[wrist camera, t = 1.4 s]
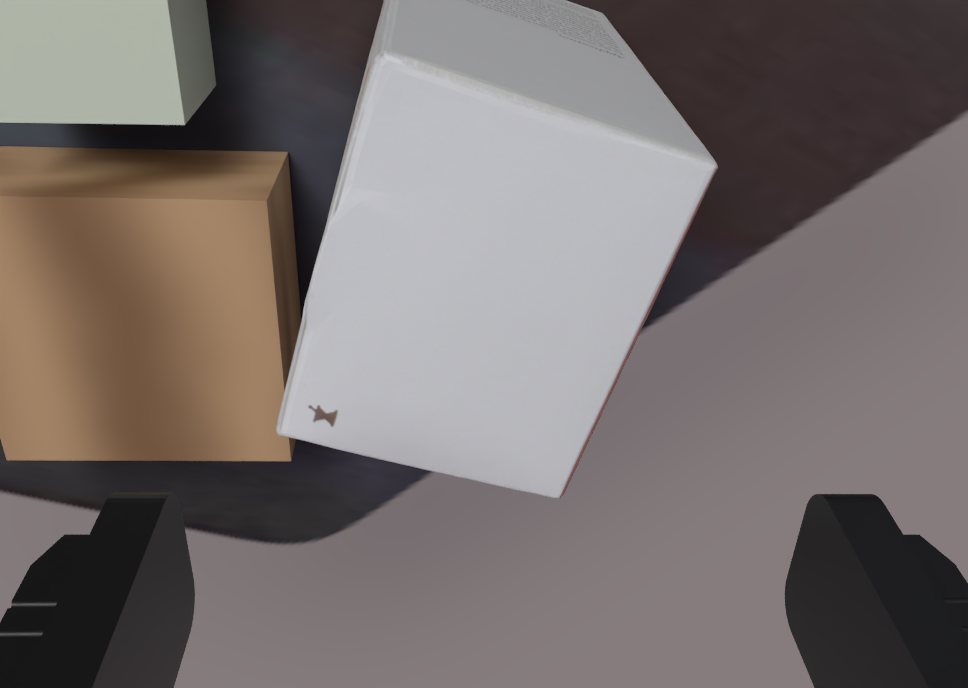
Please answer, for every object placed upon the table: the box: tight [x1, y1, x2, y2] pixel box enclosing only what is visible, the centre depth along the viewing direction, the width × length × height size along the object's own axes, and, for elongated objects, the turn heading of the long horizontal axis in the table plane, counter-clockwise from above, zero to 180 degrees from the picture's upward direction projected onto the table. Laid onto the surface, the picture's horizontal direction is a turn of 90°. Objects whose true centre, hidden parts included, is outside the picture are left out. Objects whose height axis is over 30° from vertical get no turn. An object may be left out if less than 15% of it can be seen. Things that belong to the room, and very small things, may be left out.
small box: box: [276, 0, 718, 499], centre depth 23 cm, size 8×6×13 cm
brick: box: [0, 0, 216, 125], centre depth 25 cm, size 5×5×4 cm
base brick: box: [0, 146, 301, 461], centre depth 29 cm, size 9×9×4 cm
